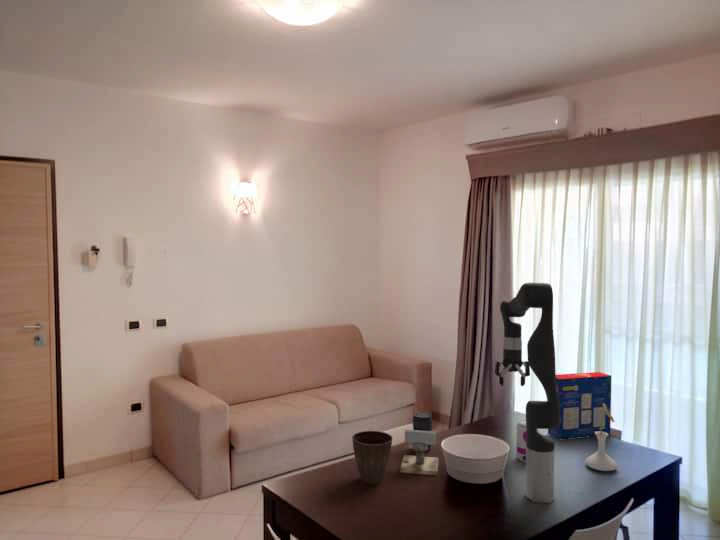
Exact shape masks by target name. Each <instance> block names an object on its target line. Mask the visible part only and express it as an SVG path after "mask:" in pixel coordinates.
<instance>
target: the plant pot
mask: <svg viewBox="0 0 720 540" xmlns="http://www.w3.org/2000/svg"><path fill="white" fill-rule="evenodd" d="M351 438H352V439H351V441H352V448H353V454H354V458H355V463H356V467H357V471H358V474H359V476H360V479H361V482H363V483H364V484H368V485H377V484H381V482H382V481H383V479H384V475H385V474H386V473H385V472H386V471H387V470H386V469H387V466H388V464H389V459H390V455H391V450H392V445H393V440H394V439H393V436H392V435H391V434H389V433H387V432H383V431H377V430H365V431H359V432H356V433H354V434H353V435H351Z"/></svg>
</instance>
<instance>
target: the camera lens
mask: <svg viewBox="0 0 720 540" xmlns="http://www.w3.org/2000/svg"><path fill="white" fill-rule="evenodd" d="M412 417H413V418H412V430H420V431H432V429H433V428H432V427H433V417H432V414H431V413H428V412H416V413H414V414H413V416H412ZM431 447H432V445H428V450H427V451H428V452H430V450H431ZM424 453H426V452H425V451H424Z"/></svg>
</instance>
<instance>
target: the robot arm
mask: <svg viewBox="0 0 720 540" xmlns="http://www.w3.org/2000/svg"><path fill="white" fill-rule="evenodd" d="M532 308H533V309H541V315H540V319H539V322H538V324H537V326H536V327H535V329H534V331H533V332H532V334H531V335H530V337H529V339H528V341H527V345H526V346H527V347H526V351H527V360H526V361H522V358H523V357H522V355H523V353H522V352H523V349H522V348H523V342H522V324H521V323H518V322H514V321H512V320H511V319H510V318H523V317H525V315H526V313H527V311H528V310H529V309H532ZM499 310H500V314H501V317H502V322H503V331H504V332H503V341H502V343H503V345H502V346H503V353H502V354H503V355H502V356H503V357H502V358H503V359H502V361H500V360H495V365H494V374H495V375H496V376H497V377H498V383H499V385H500V386H501V387H503V386H504V380H505V379H504V377H505V375H506V374H507V373H508V372H509V373H510V372H512V373H513V372H514V373H516V372H518V373H519V375H520V386H521V387H524V386H525V385H526V377H530V375H531V370H532V372H533V373H534V376H536V378H537V379H538V381H539V382H540V384H541V385H542V388H543V390H544V392H545V395H546V400H529V401H527V403H526V405H525V420H526V462H525V497H526V498H527V499H529V500H530V501H531V502H533V503H541V504H552V502H553V501H554V499H555V495H554V493H555V491H554V490H555V446H556V445H555V441H554V440H553V439H552V437H549V436H546V435H544V434H541V433H540V432H539V431H538V432H537V429H538V430H539V429H540V430H541V429H545V430H548V429H557V428H558V427H559V424H560V411H559V403H558V395H557V387H556V375H557V373H556V350H555V349H556V348H555V339H554V338H555V337H554V325H553V324H554V317H553V316H554V292H553V288H552V285H551V284H550V283H547V282H525V283H523V284H522V285H521V286H520V288H519V290H518V291H517V293H516V295H515V296H514V297H513V298H512V299H511V300H503V301H501V303H500V306H499ZM501 366H503V368H502V369H501V370H500V367H501ZM522 366H524V369H525V370H524V371H523V369H521V368H522Z"/></svg>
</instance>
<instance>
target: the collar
mask: <svg viewBox="0 0 720 540" xmlns="http://www.w3.org/2000/svg"><path fill="white" fill-rule="evenodd" d="M436 435H437V432H436V431H433V430H431V431H420V430H413V429H404V444H408V448H409V449H412V450H413V451H415V452H416V451H418V452H424V451H427V450H428V445H431V446H435V445H436V443H437V442H436V441H437V436H436ZM424 453H425V452H424Z"/></svg>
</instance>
